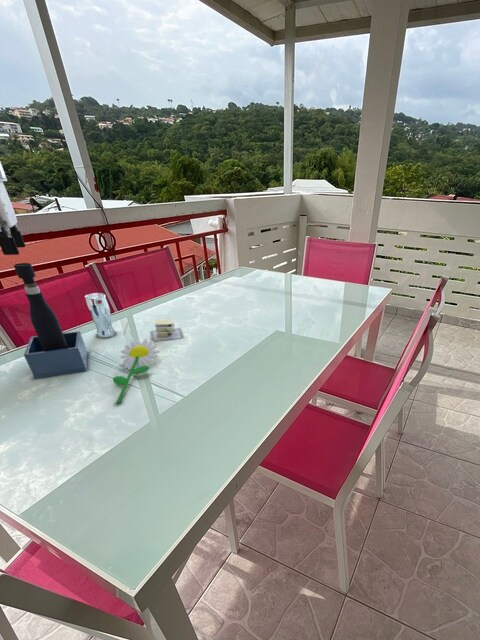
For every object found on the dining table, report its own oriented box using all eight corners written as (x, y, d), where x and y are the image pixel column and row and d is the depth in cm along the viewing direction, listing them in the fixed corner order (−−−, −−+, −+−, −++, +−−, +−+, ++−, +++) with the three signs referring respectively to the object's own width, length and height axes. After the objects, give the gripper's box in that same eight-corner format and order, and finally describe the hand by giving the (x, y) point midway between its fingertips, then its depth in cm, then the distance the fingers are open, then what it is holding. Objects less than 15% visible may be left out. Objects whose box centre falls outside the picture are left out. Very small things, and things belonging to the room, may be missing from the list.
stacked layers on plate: (154, 341, 125) (151, 327, 122) (152, 332, 131) (149, 318, 128) (181, 337, 128) (179, 324, 125) (178, 329, 135) (176, 316, 132)
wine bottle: (55, 357, 109) (16, 261, 92) (76, 357, 110) (41, 262, 93) (45, 366, 104) (2, 267, 87) (67, 366, 104) (28, 267, 87)
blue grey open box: (34, 378, 100) (23, 355, 95) (40, 359, 109) (30, 336, 105) (86, 370, 105) (78, 347, 100) (87, 352, 115) (79, 331, 110)
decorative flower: (144, 408, 94) (164, 349, 116) (139, 396, 90) (160, 337, 112) (98, 411, 93) (127, 351, 115) (91, 399, 89) (122, 339, 111)
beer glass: (106, 339, 124) (94, 300, 115) (92, 336, 126) (79, 296, 117) (120, 332, 129) (110, 294, 121) (106, 329, 131) (95, 291, 123)
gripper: (-26, 170, 83) (4, 245, 92) (-48, 172, 70) (-11, 258, 80) (11, 173, 86) (36, 244, 95) (-4, 175, 73) (27, 257, 83)
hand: (15, 250), depth 87 cm, fingers open, 9 cm apart
